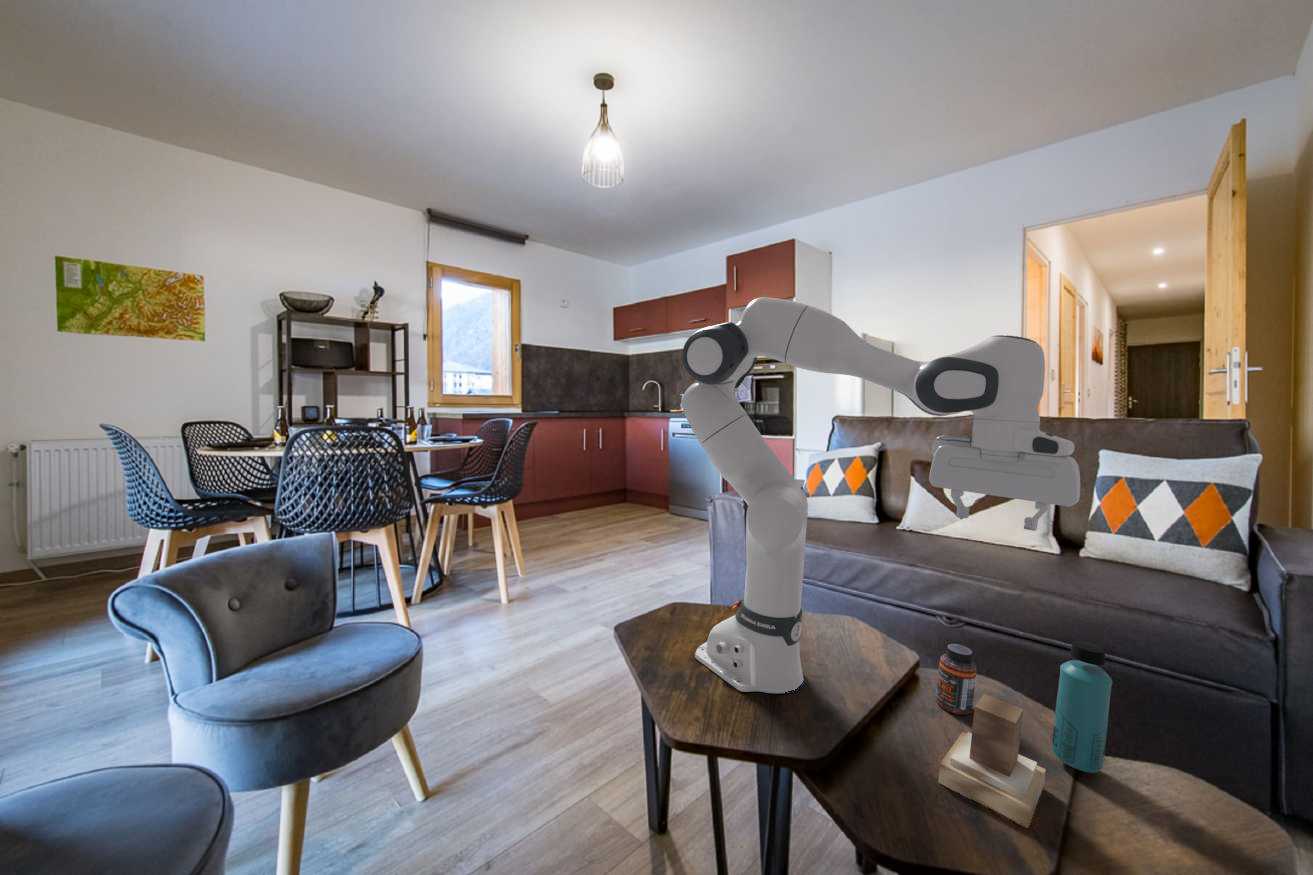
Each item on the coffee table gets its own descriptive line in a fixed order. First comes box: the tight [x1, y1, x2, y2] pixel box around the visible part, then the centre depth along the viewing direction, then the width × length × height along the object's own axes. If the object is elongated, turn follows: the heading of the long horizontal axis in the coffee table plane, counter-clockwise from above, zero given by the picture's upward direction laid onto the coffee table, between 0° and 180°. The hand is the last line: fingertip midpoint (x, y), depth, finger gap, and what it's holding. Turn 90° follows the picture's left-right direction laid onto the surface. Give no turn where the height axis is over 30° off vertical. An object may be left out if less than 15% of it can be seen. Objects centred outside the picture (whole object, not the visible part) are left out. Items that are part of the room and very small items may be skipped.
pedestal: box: [938, 731, 1047, 828], centre depth 76 cm, size 11×11×4 cm
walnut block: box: [969, 693, 1024, 777], centre depth 75 cm, size 5×5×8 cm
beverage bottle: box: [1050, 640, 1113, 774], centre depth 80 cm, size 6×7×20 cm
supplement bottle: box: [935, 643, 978, 716], centre depth 95 cm, size 6×6×11 cm
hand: (994, 523), depth 83 cm, fingers open, 8 cm apart
